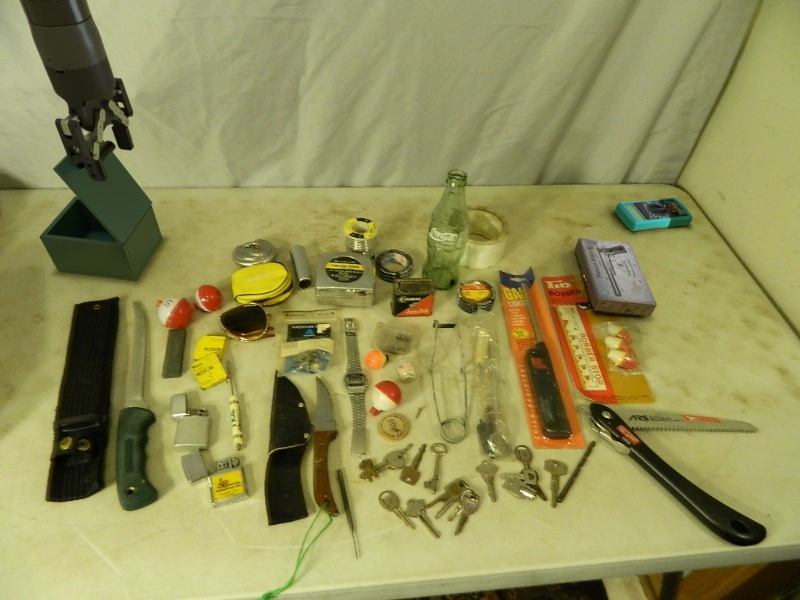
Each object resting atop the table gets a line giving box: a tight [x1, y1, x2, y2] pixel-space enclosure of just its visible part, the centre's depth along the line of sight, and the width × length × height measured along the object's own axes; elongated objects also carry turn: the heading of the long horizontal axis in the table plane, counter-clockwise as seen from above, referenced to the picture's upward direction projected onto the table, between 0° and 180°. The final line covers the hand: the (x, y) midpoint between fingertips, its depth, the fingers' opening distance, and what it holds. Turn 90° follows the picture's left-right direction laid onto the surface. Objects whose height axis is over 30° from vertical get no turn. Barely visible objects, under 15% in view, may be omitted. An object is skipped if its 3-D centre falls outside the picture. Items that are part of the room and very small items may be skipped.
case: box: [38, 195, 164, 282], centre depth 91 cm, size 14×11×8 cm
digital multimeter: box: [614, 197, 694, 232], centre depth 112 cm, size 7×15×3 cm, turn 103°
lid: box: [52, 132, 153, 245], centre depth 82 cm, size 14×11×5 cm
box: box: [574, 237, 658, 318], centre depth 97 cm, size 11×17×3 cm, turn 177°
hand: (114, 163), depth 80 cm, fingers open, 8 cm apart
